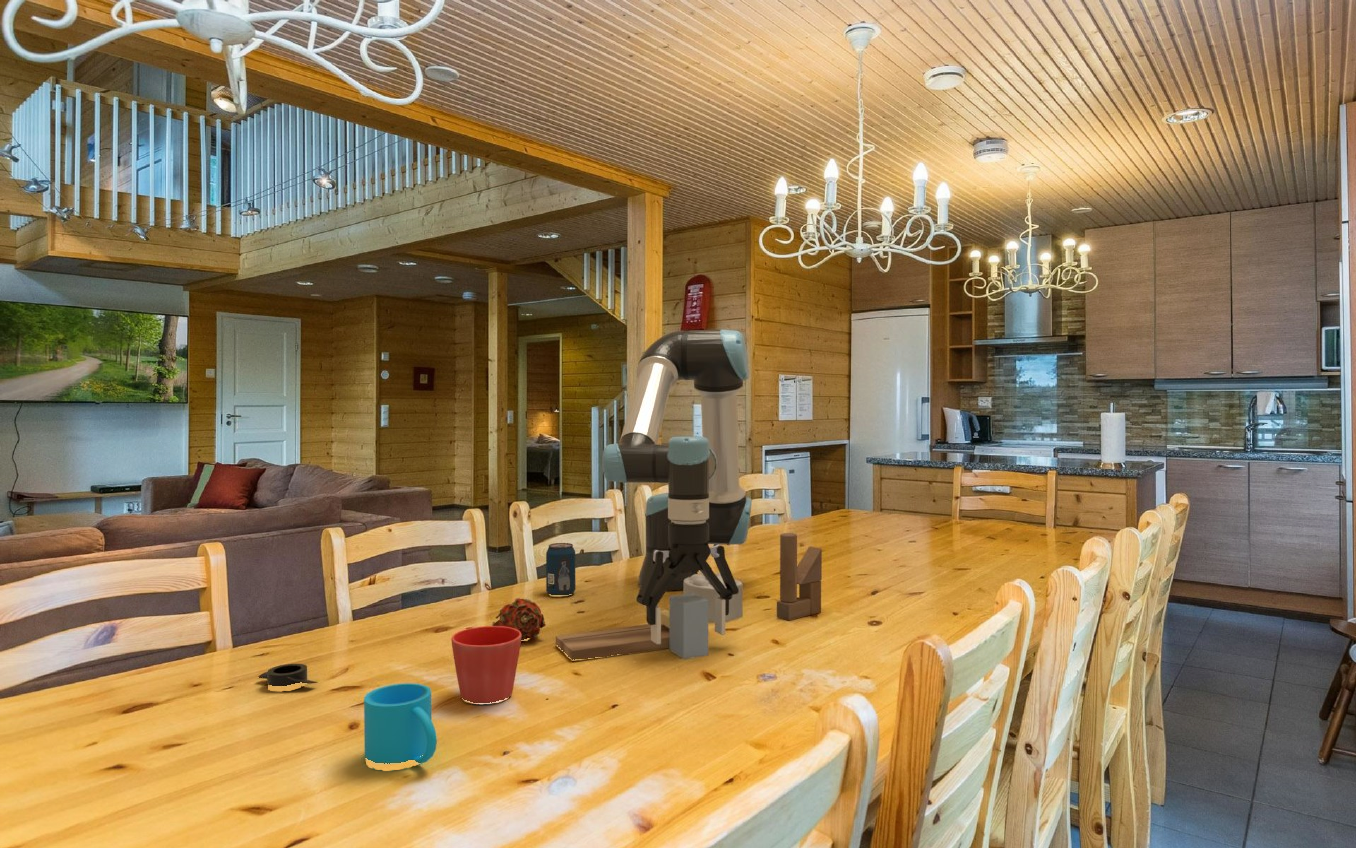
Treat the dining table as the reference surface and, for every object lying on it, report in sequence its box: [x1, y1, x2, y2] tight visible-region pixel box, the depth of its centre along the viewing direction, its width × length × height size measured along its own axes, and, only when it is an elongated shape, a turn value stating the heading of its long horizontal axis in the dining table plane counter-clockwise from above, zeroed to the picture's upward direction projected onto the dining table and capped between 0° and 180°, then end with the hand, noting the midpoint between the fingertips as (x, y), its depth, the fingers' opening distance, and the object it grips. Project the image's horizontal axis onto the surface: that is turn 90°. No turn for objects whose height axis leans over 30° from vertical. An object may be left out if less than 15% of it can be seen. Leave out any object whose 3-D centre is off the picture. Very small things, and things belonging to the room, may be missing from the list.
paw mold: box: [682, 572, 744, 624], centre depth 171 cm, size 10×13×9 cm
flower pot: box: [451, 625, 522, 703], centre depth 123 cm, size 11×11×10 cm
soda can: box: [545, 542, 576, 595], centre depth 189 cm, size 7×7×12 cm
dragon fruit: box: [491, 597, 546, 640], centre depth 153 cm, size 8×8×12 cm
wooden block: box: [776, 532, 823, 621], centre depth 170 cm, size 4×11×18 cm, turn 130°
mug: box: [363, 682, 438, 764], centre depth 100 cm, size 12×8×8 cm
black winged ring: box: [257, 663, 318, 686], centre depth 128 cm, size 8×10×3 cm
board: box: [555, 623, 669, 660], centre depth 149 cm, size 10×26×2 cm, turn 116°
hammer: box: [661, 593, 709, 660], centre depth 149 cm, size 15×5×10 cm, turn 26°
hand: (688, 637), depth 145 cm, fingers open, 12 cm apart
